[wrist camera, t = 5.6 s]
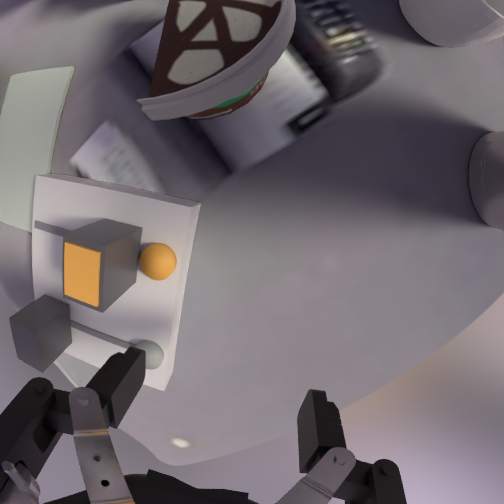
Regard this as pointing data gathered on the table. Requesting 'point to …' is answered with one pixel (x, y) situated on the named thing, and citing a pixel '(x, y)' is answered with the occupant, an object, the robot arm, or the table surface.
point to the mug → (455, 20)
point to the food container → (216, 55)
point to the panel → (148, 272)
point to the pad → (28, 138)
